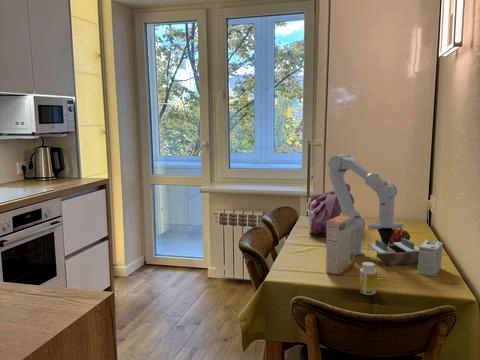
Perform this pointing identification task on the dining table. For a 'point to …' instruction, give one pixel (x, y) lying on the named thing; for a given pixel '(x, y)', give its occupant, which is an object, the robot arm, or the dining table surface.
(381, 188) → the robot arm
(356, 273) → the dining table surface
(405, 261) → the walnut box
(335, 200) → the purple cloth
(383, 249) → the lid left
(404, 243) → the lid right
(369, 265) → the supplement bottle
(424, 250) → the light bulb box
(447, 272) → the dining table surface
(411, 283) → the dining table surface
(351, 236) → the cracker box
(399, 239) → the dragon fruit
